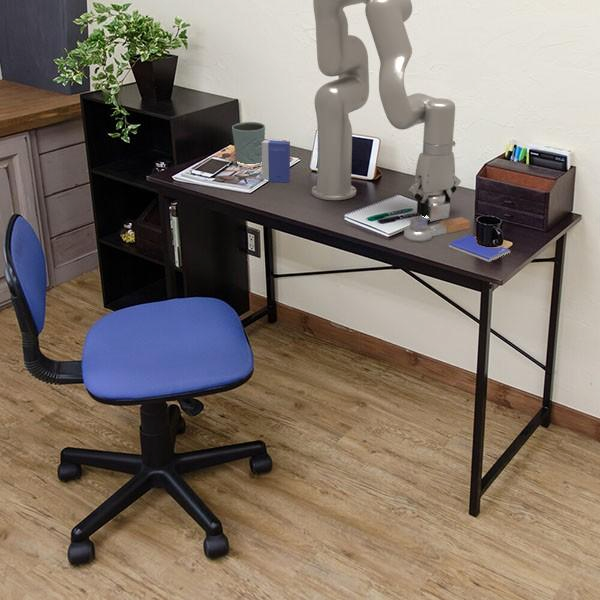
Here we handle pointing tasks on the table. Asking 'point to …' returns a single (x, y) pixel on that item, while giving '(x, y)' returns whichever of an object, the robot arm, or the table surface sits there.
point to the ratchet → (432, 228)
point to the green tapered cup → (248, 142)
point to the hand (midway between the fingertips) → (433, 212)
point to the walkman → (276, 160)
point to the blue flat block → (478, 249)
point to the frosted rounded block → (437, 206)
